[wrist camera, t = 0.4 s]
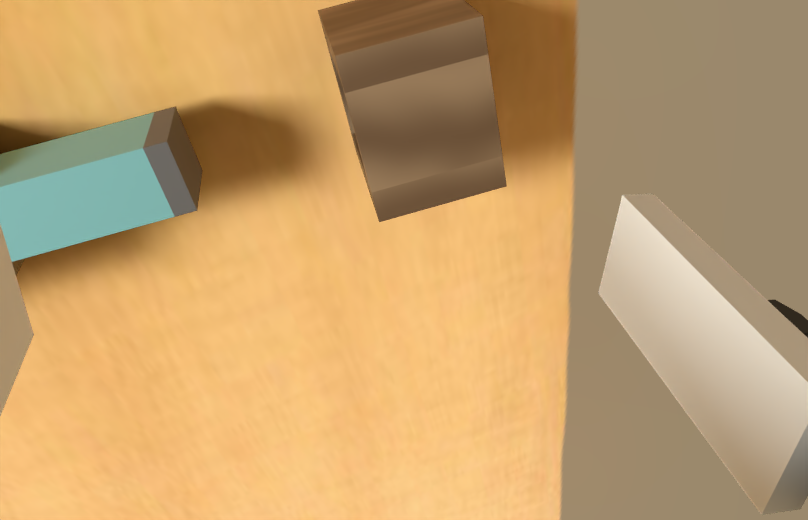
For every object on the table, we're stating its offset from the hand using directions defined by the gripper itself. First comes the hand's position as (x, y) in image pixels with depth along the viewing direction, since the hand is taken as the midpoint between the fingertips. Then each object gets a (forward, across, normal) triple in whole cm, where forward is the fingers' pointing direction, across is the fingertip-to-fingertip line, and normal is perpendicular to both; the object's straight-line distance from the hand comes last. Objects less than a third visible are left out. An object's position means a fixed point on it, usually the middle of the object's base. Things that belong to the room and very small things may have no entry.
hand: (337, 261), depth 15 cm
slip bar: (+25, -18, -11) cm, 33 cm away
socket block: (+27, +6, -4) cm, 28 cm away
